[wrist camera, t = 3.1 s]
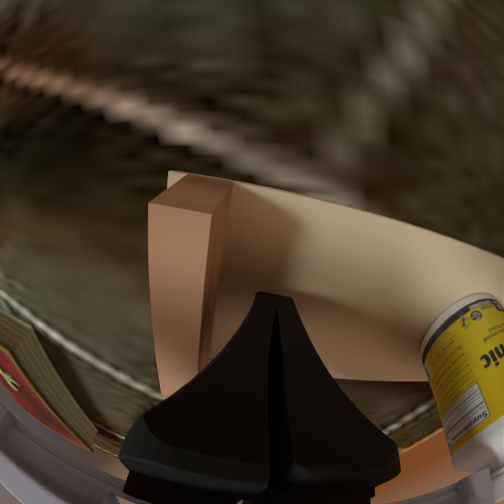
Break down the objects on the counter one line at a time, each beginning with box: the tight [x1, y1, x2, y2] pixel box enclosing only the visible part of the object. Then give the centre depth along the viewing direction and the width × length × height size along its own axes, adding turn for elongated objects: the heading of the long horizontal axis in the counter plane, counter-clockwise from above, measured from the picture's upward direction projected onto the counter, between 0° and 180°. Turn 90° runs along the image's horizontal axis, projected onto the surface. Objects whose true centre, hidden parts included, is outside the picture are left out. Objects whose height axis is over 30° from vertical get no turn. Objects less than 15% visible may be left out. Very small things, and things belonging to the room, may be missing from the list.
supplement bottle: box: [420, 293, 504, 503], centre depth 7 cm, size 5×5×10 cm
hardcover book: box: [0, 308, 98, 452], centre depth 19 cm, size 12×21×4 cm, turn 172°
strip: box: [148, 170, 504, 398], centre depth 10 cm, size 9×20×3 cm, turn 80°
